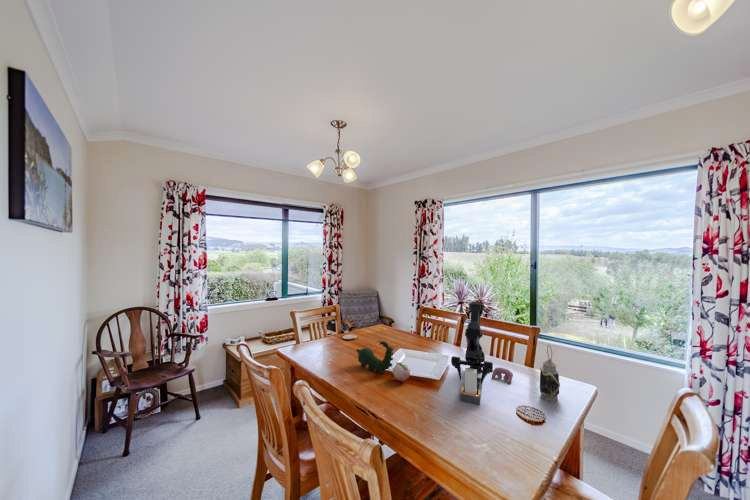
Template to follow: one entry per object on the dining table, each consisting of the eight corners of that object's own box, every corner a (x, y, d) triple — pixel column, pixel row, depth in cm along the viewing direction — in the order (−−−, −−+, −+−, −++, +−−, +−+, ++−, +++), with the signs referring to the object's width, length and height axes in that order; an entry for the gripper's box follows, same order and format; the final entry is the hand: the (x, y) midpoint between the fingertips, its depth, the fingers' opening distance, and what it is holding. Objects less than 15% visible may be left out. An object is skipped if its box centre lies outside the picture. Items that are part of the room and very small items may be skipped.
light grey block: (465, 393, 134) (465, 367, 134) (476, 395, 132) (476, 369, 132) (464, 397, 130) (464, 371, 130) (476, 400, 128) (476, 373, 128)
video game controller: (512, 385, 148) (514, 371, 150) (510, 384, 145) (512, 370, 147) (493, 379, 154) (495, 366, 157) (490, 377, 151) (492, 364, 154)
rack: (464, 381, 148) (464, 374, 148) (482, 384, 145) (482, 377, 145) (460, 401, 129) (460, 392, 129) (480, 405, 126) (480, 396, 126)
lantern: (537, 392, 138) (537, 341, 137) (556, 394, 135) (556, 343, 135) (542, 401, 129) (542, 347, 129) (562, 404, 127) (563, 349, 127)
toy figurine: (394, 374, 160) (359, 360, 174) (397, 342, 159) (362, 330, 173) (385, 380, 152) (350, 365, 167) (388, 346, 151) (352, 334, 165)
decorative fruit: (389, 381, 149) (389, 362, 148) (398, 375, 155) (398, 357, 154) (403, 387, 142) (403, 367, 142) (412, 381, 148) (412, 362, 148)
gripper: (451, 339, 138) (448, 371, 128) (492, 345, 131) (492, 379, 121) (453, 350, 146) (450, 380, 136) (492, 356, 138) (492, 388, 128)
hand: (470, 382), depth 130 cm, fingers open, 9 cm apart
